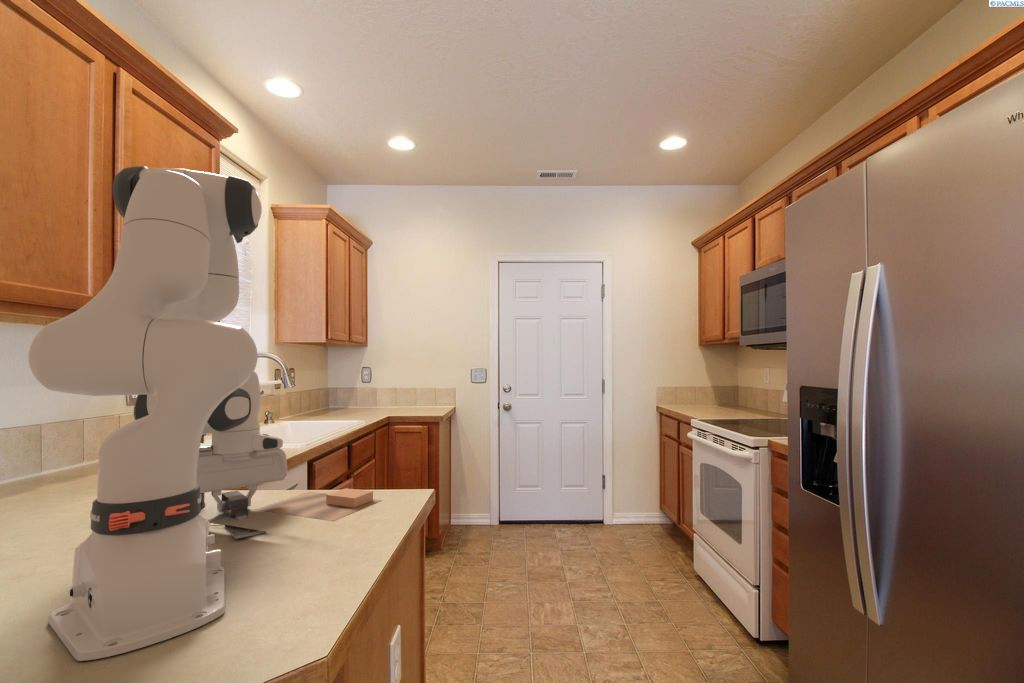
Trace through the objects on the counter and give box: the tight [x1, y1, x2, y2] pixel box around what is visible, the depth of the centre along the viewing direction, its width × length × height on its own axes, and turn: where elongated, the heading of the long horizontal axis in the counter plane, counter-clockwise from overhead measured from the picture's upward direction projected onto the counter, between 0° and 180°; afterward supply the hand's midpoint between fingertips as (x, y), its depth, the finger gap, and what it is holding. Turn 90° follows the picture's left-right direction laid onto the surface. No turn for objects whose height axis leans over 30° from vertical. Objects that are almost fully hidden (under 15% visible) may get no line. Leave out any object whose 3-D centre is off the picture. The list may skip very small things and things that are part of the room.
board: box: [254, 491, 383, 522], centre depth 100 cm, size 22×15×2 cm
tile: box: [326, 487, 374, 508], centre depth 101 cm, size 2×6×8 cm
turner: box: [220, 490, 266, 540], centre depth 92 cm, size 20×6×4 cm, turn 44°
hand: (234, 508), depth 96 cm, fingers closed on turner, 3 cm apart
